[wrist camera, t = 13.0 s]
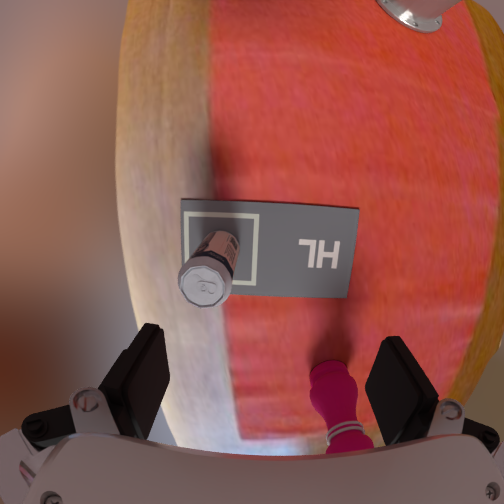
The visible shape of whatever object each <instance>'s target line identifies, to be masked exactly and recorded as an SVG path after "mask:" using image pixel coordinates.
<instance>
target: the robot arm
mask: <svg viewBox="0 0 504 504" xmlns="http://www.w3.org/2000/svg"><path fill="white" fill-rule="evenodd" d="M376 1H377V3H378V4H379V5H380V6H381V7H382V9H384V10H385V11H386V12H387V13H388V14H389V15H390V16H391V17H392V18H394V19H395V20H396V21H398V22H399V23H401V24H402V25H404V26H406V27H408V28H410V29H412V30H415V31H418V32H421V33H432V32H434V31H436V30H438V29H439V28H440V27H441V25H442V15H441V14H443V13H444V12H446V11H447V10H448V9H450V8H451V7H453V6H454V5H456V4H457V3H459V2H460V1H462V0H376ZM169 381H170V372H169V366H168V359H167V353H166V345H165V338H164V331H163V329H161V328H160V327H159V325H157V324H150V323H145V324H144V325H143V327H142V328H141V330H140V331H139V333H138V334H137V335H136V337H135V338H134V340H133V342H132V343H131V344H130V346H129V347H128V349H125V350H123V351H122V353H121V354H120V356H119V357H118V359H117V360H116V362H115V363H114V365H113V366H112V368H111V369H110V371H109V372H108V374H107V375H106V377H105V378H104V380H103V381H102V383H101V384H100V386H99V387H98V389H96V388H93V387H83V388H80V389H78V390H76V391H75V392H74V393H73V394H72V395H71V397H70V400H69V405H66V406H62V407H58V408H55V409H51V410H47V411H43V412H38V413H34V414H31V415H29V416H28V417H26V418H25V419H24V421H23V423H22V426H21V427H22V428H21V429H20V430H17V428H15V429H13V430H11V431H10V432H8V433H6V434H4V435H2V436H0V496H1V498H2V500H3V501H4V503H5V504H504V442H503V441H502V443H501V444H500V443H499V442H500V438H499V435H498V433H497V432H496V431H495V430H494V429H493V428H491V427H489V426H485V425H483V424H480V423H478V422H475V421H473V420H470V419H467V418H465V410H464V407H463V406H462V405H461V404H460V403H459V402H458V401H456V400H454V399H450V398H448V399H443V400H441V401H440V402H439V400H438V396H439V395H438V393H437V392H436V390H435V389H434V387H433V385H432V384H431V382H430V381H429V379H428V378H427V376H426V374H425V373H424V371H423V370H422V368H421V367H420V365H419V364H418V362H417V361H416V359H415V358H414V356H413V355H412V353H411V352H410V350H409V349H408V347H407V346H406V345H405V343H404V342H403V340H402V339H401V337H400V336H388V337H386V338H385V340H383V341H382V342H381V345H380V348H379V351H378V354H377V356H376V359H375V362H374V364H373V367H372V369H371V372H370V374H369V377H368V379H367V382H366V384H365V391H366V393H367V396H368V399H369V401H370V404H371V407H372V409H373V412H374V415H375V417H376V420H377V423H378V426H379V428H380V431H381V434H382V437H383V440H384V442H385V445H386V446H383V447H377V448H371V449H365V450H358V451H351V452H342V453H332V454H320V455H302V456H260V455H241V454H229V453H219V452H210V451H203V450H196V449H190V448H184V447H178V446H172V445H166V444H162V443H157V442H152V441H148V440H146V439H147V438H148V436H149V433H150V430H151V428H152V425H153V423H154V420H155V417H156V415H157V412H158V410H159V407H160V404H161V402H162V399H163V397H164V394H165V392H166V389H167V387H168V384H169ZM143 439H144V440H143Z"/></svg>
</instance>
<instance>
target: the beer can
mask: <svg viewBox="0 0 504 504" xmlns="http://www.w3.org/2000/svg"><path fill="white" fill-rule="evenodd" d="M239 254H240V246H239V243H238V241H237V239H236V238H235V237H234V236H233V235H232V234H231V233H229V232H226V231H221V230H219V231H214V232H211V233H209V234H208V235H207V236H206V237H205V238H204V240H203V241H202V243H201V244H200V245H199V246H198V248H197V249H196V250H195V251H194V253H193V254H192V255H191V256H190V258H189V259H188V260H187V262H186V263H185V264H184V265H183V266H182V267H181V269H180V271H179V275H178V286H179V289H180V291H181V293H182V295H183V296H184V298H185V299H186V301H187V302H188V303H190V304H192V305H194V306H196V307H198V308H211V307H216V306H218V305H220V304H222V303H223V302H224V301H225V300H226V299H227V298H228V296H229V295H230V293H231V289H232V282H233V278H234V273H235V269H236V265H237V261H238V257H239Z"/></svg>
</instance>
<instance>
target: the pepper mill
mask: <svg viewBox="0 0 504 504" xmlns="http://www.w3.org/2000/svg"><path fill="white" fill-rule="evenodd" d="M310 384H311V387H312V388H311V390H310V399H311V402H312V405H313V407H314V408H315V410H316V411H317V412H318V413H319V414H320V415H321V416H322V417H323V418H324V420H325V422H326V425H327V427H328V432H327V434H326V439H327V444H328V446H329V447H328V448H327V450H326V454H332V453H342V452H351V451H358V450H365V449H371V448H374V445H373V442H372V440H371V439H370V438H369V437H368V436H367V435H365V430H364V429H363V425H362V423H360V422H358V420H357V417H356V403H357V398H358V388H357V385H356V382H355V380H354V379H353V377H351V376H350V375H349V372H348V370H347V367H346V365H345V364H344V363H342V362H340V361H336V360H331V361H325V362H322V363H321V364H319V365H317V366H316V367H315V368H314V369H313V370H312V372H311V374H310Z"/></svg>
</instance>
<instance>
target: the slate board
mask: <svg viewBox="0 0 504 504" xmlns="http://www.w3.org/2000/svg"><path fill="white" fill-rule="evenodd" d="M358 220H359V209H349V208H338V207H326V206H313V205H299V204H284V203H266V202H244V201H215V200H181V250H182V266H183V265H184V264H185V263H186V262H187V260H188V259H189V258H190V256H191V255H192V254H193V253H194V251H195V250H196V249H197V248H198V246H199V245H200V244H201V243H202V241H203V240H204V238H205V237H206V236H207V235H208V234H209V233H211V232H214V231H219V230H221V231H226V232H229V233H231V234H232V235H233V236H234V237H235V238H236V239H237V241H238V243H239V246H240V254H239V257H238V261H237V265H236V269H235V273H234V278H233V282H232V289H231V293H230V294H238V295H257V296H280V297H312V298H347V293H348V288H349V282H350V276H351V270H352V264H353V258H354V251H355V244H356V236H357V228H358Z"/></svg>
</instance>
